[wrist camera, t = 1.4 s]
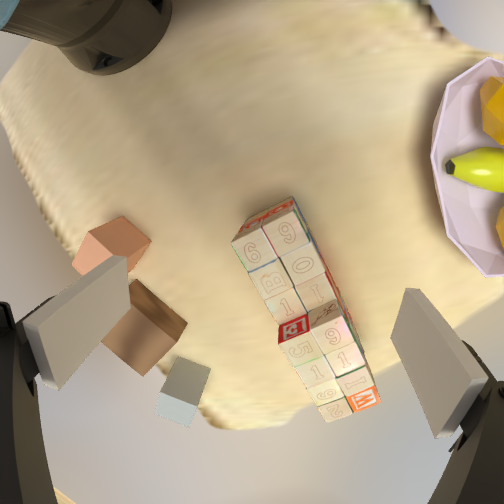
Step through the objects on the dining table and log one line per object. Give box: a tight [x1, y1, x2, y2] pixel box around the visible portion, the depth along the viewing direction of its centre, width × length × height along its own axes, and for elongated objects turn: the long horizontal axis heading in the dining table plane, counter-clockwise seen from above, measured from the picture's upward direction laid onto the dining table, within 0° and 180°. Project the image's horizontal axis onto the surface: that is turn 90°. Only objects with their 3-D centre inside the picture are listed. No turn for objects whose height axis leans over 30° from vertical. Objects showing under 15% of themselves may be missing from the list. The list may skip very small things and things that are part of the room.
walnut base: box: [101, 279, 188, 376], centre depth 39 cm, size 9×9×5 cm
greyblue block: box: [155, 356, 210, 427], centre depth 39 cm, size 5×5×8 cm
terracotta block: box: [72, 216, 151, 276], centre depth 34 cm, size 5×5×8 cm
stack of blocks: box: [231, 197, 381, 423], centre depth 31 cm, size 21×6×12 cm, turn 28°
